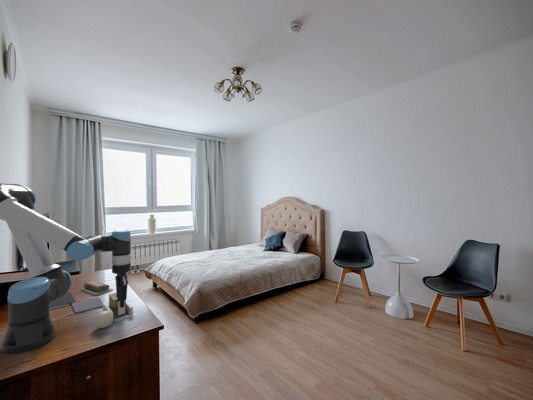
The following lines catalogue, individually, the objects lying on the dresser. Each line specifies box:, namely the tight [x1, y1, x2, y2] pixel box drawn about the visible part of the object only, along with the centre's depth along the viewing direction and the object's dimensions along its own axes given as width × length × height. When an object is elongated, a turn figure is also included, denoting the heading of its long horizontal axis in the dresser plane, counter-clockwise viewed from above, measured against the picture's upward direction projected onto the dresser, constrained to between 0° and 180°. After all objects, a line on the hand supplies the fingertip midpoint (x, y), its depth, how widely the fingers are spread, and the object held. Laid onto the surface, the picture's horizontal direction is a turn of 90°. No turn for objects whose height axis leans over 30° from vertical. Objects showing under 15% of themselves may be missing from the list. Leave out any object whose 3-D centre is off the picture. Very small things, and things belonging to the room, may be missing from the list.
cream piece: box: [92, 310, 114, 329], centre depth 107 cm, size 7×7×7 cm
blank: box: [108, 292, 127, 318], centre depth 121 cm, size 5×10×8 cm, turn 44°
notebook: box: [49, 290, 77, 311], centre depth 134 cm, size 13×2×21 cm
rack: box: [102, 299, 134, 323], centre depth 120 cm, size 9×17×4 cm, turn 44°
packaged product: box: [80, 280, 114, 297], centre depth 150 cm, size 18×5×10 cm
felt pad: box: [71, 297, 103, 314], centre depth 128 cm, size 12×14×1 cm
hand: (121, 313), depth 115 cm, fingers closed
